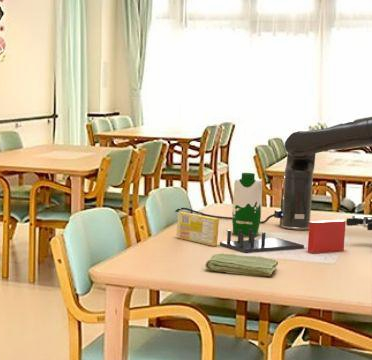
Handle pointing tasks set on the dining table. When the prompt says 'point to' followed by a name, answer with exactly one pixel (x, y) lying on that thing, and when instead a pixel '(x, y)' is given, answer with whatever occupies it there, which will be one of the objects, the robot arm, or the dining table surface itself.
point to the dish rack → (258, 243)
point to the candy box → (197, 228)
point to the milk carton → (247, 204)
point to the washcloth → (241, 264)
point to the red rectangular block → (326, 236)
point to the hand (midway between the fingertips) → (357, 224)
